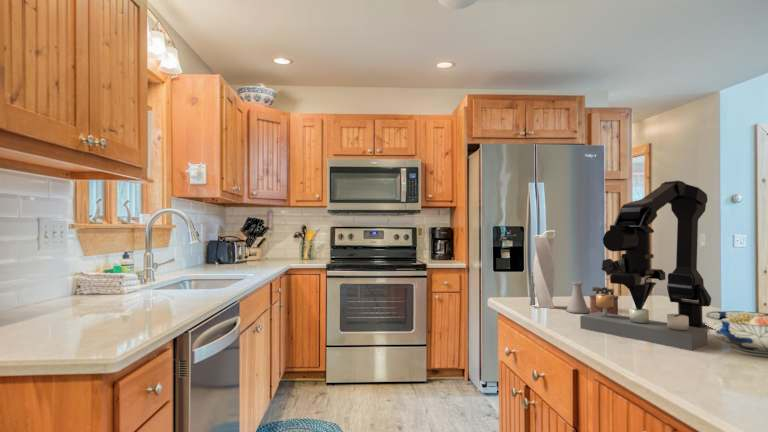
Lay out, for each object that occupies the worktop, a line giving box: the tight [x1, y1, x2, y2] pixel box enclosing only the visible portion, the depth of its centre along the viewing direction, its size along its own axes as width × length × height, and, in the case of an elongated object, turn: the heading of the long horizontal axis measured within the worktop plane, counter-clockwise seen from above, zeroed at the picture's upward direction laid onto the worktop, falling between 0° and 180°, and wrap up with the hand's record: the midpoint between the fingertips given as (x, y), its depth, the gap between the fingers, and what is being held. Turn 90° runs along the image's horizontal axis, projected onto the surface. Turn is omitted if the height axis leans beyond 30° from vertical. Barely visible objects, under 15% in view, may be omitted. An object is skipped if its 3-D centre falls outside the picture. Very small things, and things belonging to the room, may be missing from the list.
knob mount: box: [579, 312, 709, 351], centre depth 112 cm, size 10×27×4 cm, turn 35°
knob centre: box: [628, 307, 650, 323], centre depth 112 cm, size 4×4×7 cm
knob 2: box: [666, 313, 689, 330], centre depth 105 cm, size 4×4×7 cm
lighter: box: [589, 286, 619, 315], centre depth 132 cm, size 8×3×10 cm, turn 58°
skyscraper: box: [529, 229, 556, 310], centre depth 152 cm, size 8×8×28 cm
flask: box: [566, 281, 590, 314], centre depth 143 cm, size 7×7×10 cm
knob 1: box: [595, 293, 614, 317], centre depth 119 cm, size 4×4×7 cm
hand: (639, 308), depth 112 cm, fingers closed, pressing on knob centre
